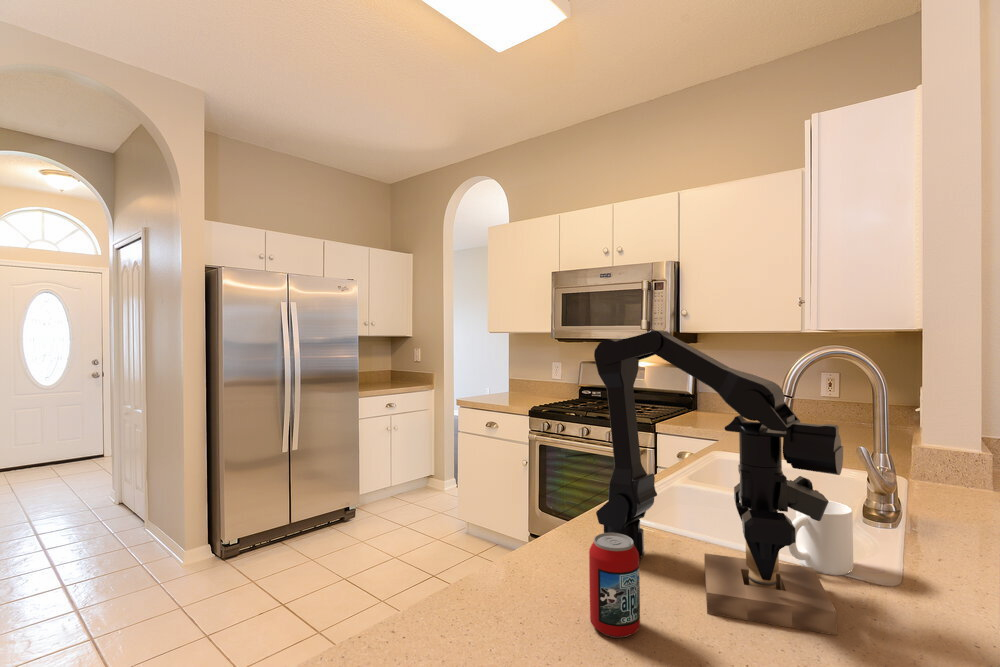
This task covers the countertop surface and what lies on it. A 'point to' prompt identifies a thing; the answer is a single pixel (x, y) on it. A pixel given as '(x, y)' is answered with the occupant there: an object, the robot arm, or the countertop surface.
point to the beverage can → (614, 585)
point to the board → (768, 596)
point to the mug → (825, 540)
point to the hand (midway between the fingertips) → (761, 566)
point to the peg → (755, 575)
